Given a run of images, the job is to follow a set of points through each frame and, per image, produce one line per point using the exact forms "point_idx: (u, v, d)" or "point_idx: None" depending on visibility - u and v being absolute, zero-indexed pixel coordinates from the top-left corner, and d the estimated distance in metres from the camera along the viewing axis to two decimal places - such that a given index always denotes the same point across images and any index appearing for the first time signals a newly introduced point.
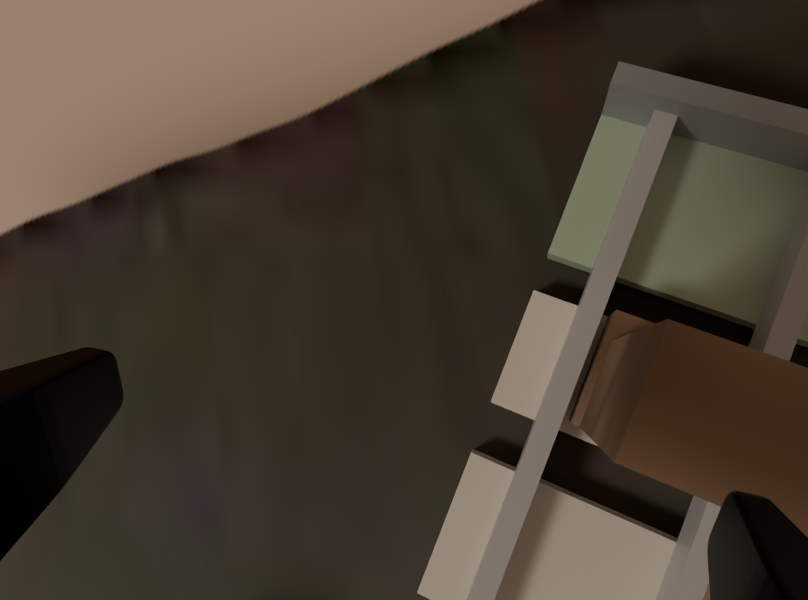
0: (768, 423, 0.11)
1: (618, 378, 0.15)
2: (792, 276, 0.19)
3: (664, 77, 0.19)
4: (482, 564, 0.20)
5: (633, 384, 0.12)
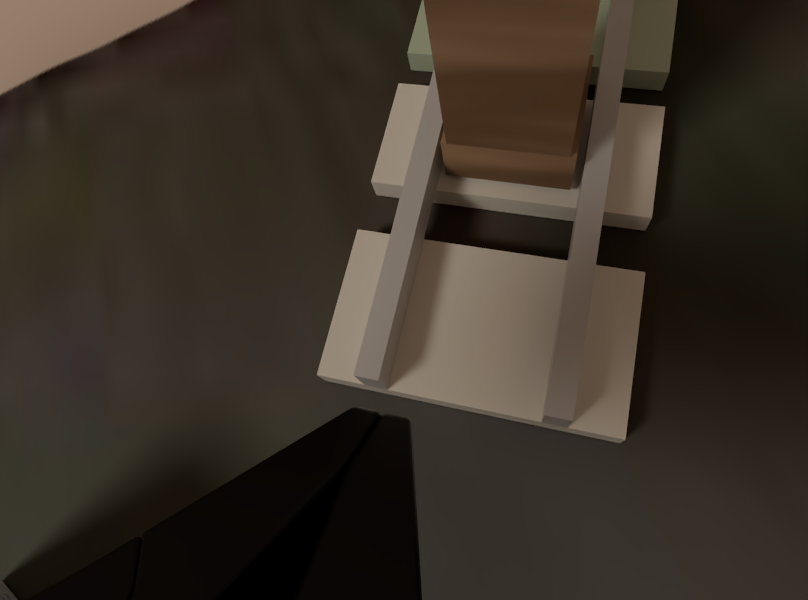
0: None
1: None
2: (612, 3, 0.21)
3: None
4: (374, 302, 0.19)
5: None
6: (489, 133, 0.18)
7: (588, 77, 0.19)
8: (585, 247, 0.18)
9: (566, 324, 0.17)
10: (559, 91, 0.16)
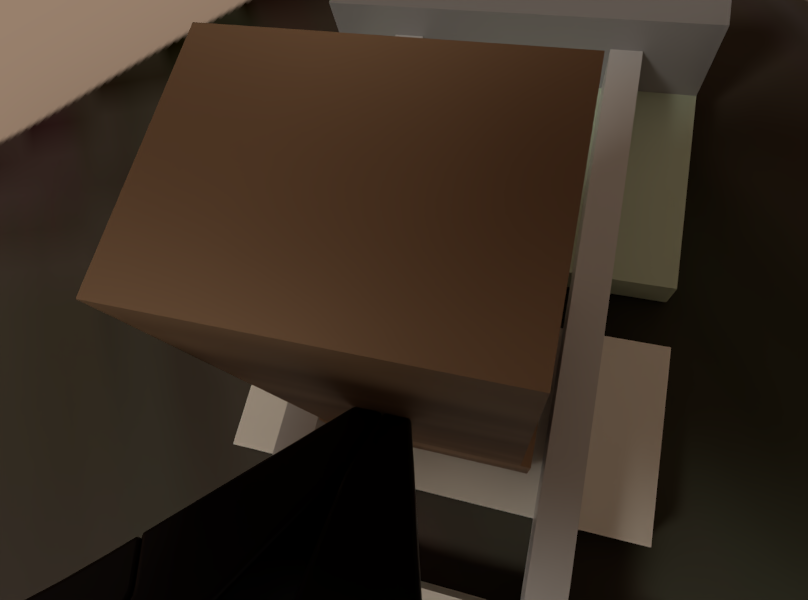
0: (376, 152, 0.05)
1: None
2: (590, 189, 0.14)
3: None
4: None
5: None
6: None
7: None
8: None
9: None
10: (485, 442, 0.09)
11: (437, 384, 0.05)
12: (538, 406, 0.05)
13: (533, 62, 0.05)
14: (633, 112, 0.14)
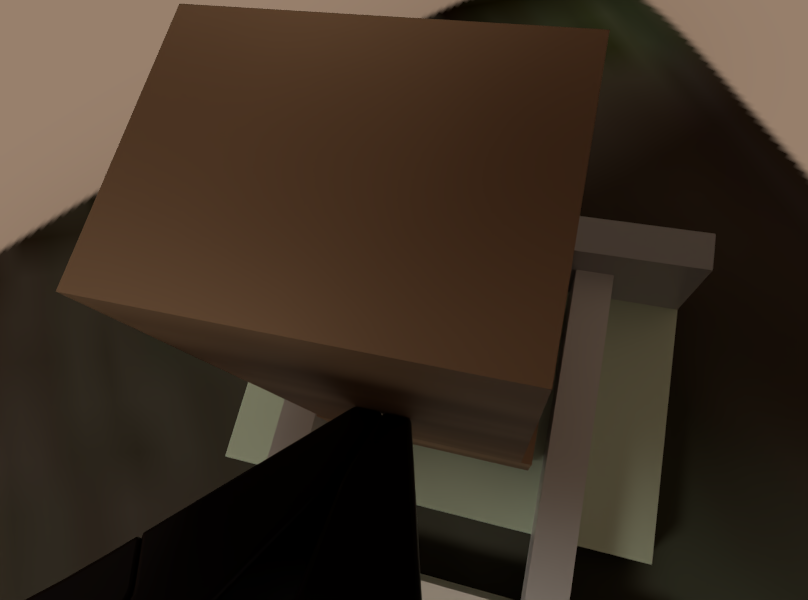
0: (369, 137, 0.05)
1: None
2: (549, 458, 0.12)
3: None
4: None
5: None
6: None
7: None
8: None
9: None
10: (484, 439, 0.08)
11: (433, 380, 0.05)
12: (539, 402, 0.04)
13: (534, 43, 0.05)
14: (601, 357, 0.12)
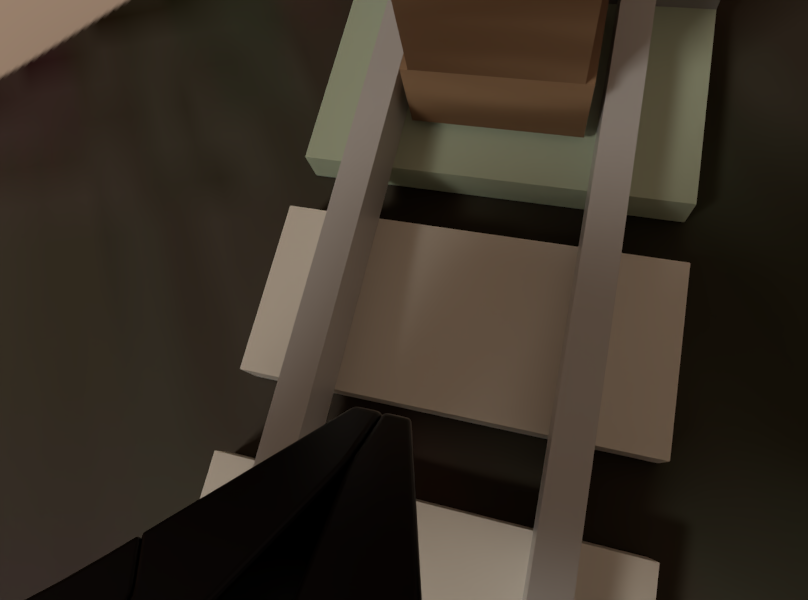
0: None
1: None
2: (607, 99, 0.13)
3: None
4: None
5: None
6: (467, 49, 0.12)
7: None
8: (558, 549, 0.11)
9: None
10: None
11: None
12: None
13: None
14: (652, 20, 0.14)
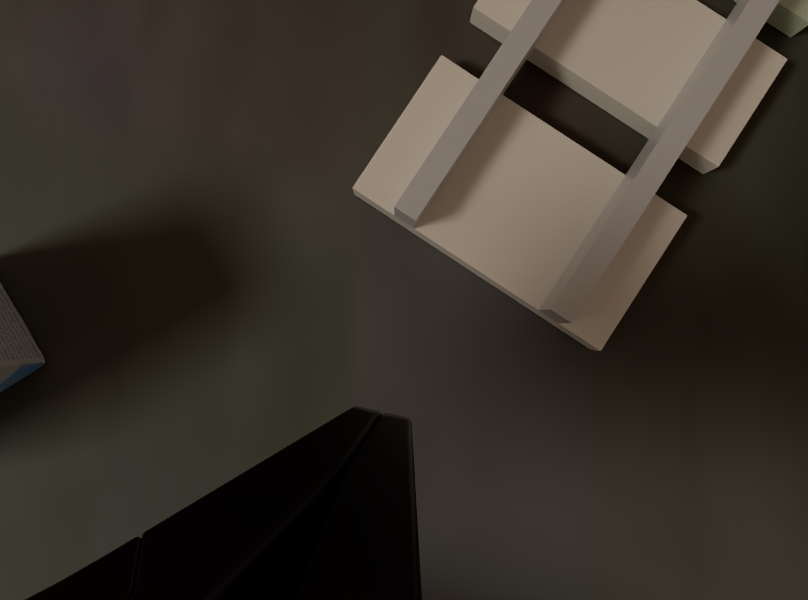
0: None
1: None
2: None
3: None
4: (438, 143, 0.18)
5: None
6: None
7: None
8: (653, 173, 0.18)
9: (604, 238, 0.18)
10: None
11: None
12: None
13: None
14: None
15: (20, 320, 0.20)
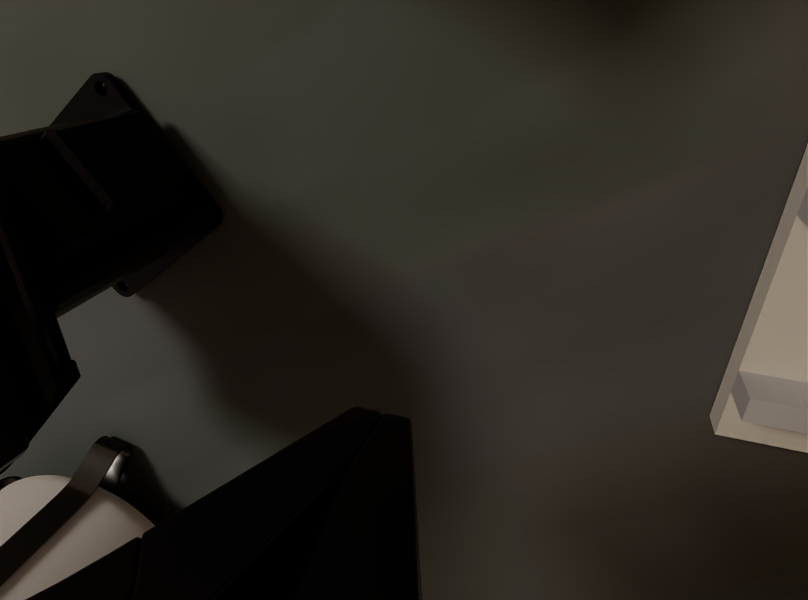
0: None
1: None
2: None
3: None
4: None
5: None
6: None
7: None
8: None
9: None
10: None
11: None
12: None
13: None
14: None
15: None
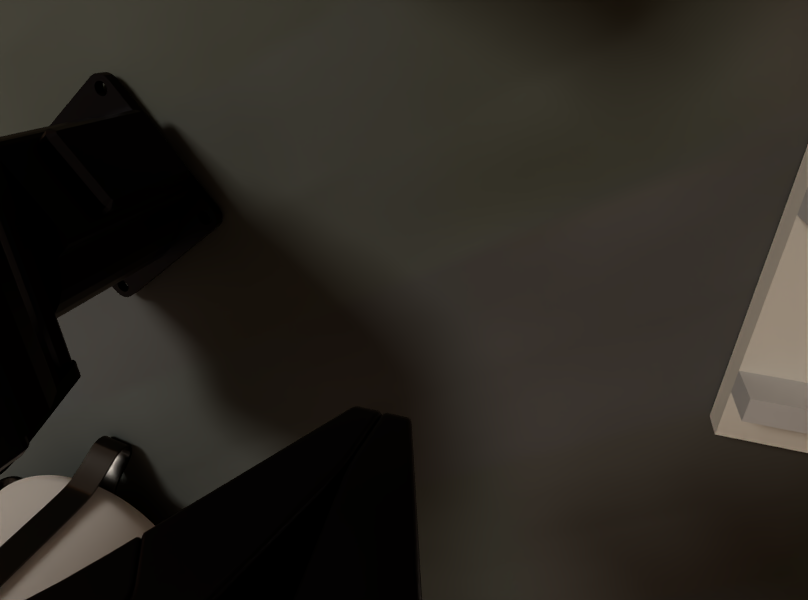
0: None
1: None
2: None
3: None
4: None
5: None
6: None
7: None
8: None
9: None
10: None
11: None
12: None
13: None
14: None
15: None
